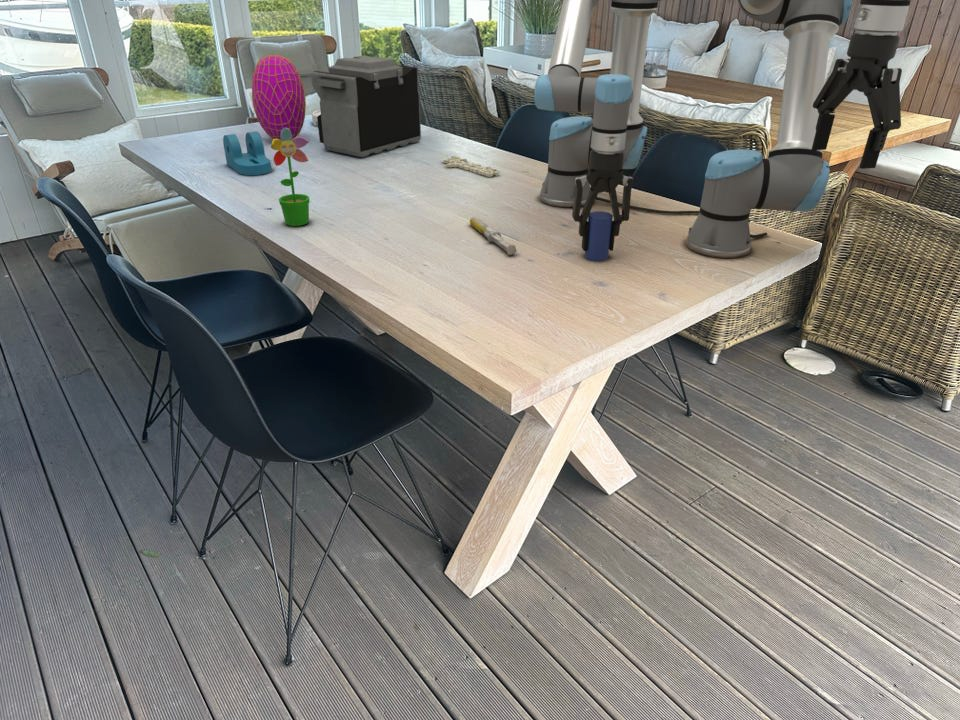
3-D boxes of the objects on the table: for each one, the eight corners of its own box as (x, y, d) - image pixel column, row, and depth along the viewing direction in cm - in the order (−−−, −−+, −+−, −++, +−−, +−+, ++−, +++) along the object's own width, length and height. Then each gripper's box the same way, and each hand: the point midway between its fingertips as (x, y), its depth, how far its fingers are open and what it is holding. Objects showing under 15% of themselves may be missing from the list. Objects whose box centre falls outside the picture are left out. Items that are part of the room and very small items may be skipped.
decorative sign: (432, 159, 238) (454, 155, 243) (432, 162, 238) (454, 157, 244) (482, 176, 221) (505, 170, 226) (482, 179, 221) (505, 173, 227)
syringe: (466, 223, 184) (466, 213, 183) (479, 221, 185) (479, 212, 184) (502, 257, 164) (503, 246, 163) (517, 255, 165) (517, 244, 164)
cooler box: (383, 133, 276) (378, 52, 261) (425, 141, 265) (422, 56, 250) (314, 150, 251) (304, 61, 235) (358, 160, 240) (350, 67, 224)
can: (603, 252, 168) (608, 210, 163) (611, 260, 163) (616, 218, 158) (581, 253, 167) (585, 211, 162) (588, 262, 162) (593, 219, 157)
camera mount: (227, 164, 233) (221, 132, 227) (257, 160, 238) (252, 129, 233) (244, 176, 220) (239, 143, 215) (276, 172, 225) (271, 139, 220)
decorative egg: (293, 132, 276) (283, 50, 261) (319, 140, 264) (310, 56, 249) (249, 139, 265) (236, 54, 250) (273, 148, 253) (261, 60, 238)
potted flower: (284, 229, 179) (270, 130, 166) (277, 220, 185) (263, 124, 172) (319, 224, 183) (308, 127, 170) (311, 215, 188) (300, 121, 176)
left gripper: (568, 154, 149) (561, 255, 160) (653, 154, 150) (639, 254, 161) (562, 146, 155) (556, 243, 167) (644, 146, 156) (631, 242, 168)
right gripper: (811, 26, 127) (784, 143, 138) (912, 41, 106) (871, 177, 117) (846, 26, 129) (817, 142, 139) (953, 40, 108) (908, 175, 118)
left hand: (597, 248), depth 164 cm, fingers closed on can, 6 cm apart
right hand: (841, 158), depth 128 cm, fingers open, 13 cm apart
